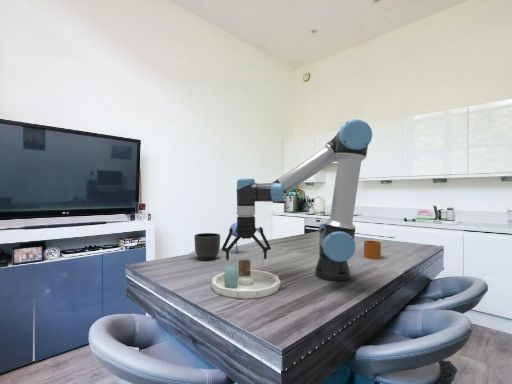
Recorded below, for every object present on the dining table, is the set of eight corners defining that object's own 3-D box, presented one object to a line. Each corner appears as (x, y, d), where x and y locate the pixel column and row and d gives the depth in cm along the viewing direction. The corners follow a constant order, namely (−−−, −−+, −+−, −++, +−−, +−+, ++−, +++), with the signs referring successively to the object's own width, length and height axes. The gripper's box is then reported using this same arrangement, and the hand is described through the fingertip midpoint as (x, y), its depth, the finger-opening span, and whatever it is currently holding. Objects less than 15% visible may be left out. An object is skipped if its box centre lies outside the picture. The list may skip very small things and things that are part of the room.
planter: (207, 254, 160) (207, 232, 160) (225, 258, 152) (225, 234, 152) (188, 259, 149) (189, 235, 149) (206, 263, 140) (207, 237, 140)
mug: (387, 257, 157) (387, 241, 157) (374, 260, 150) (375, 244, 150) (372, 254, 165) (373, 239, 164) (360, 256, 158) (360, 241, 158)
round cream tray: (288, 281, 113) (288, 273, 113) (262, 303, 90) (262, 294, 90) (233, 272, 125) (233, 265, 125) (198, 290, 101) (198, 282, 101)
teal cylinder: (221, 285, 104) (222, 267, 104) (233, 283, 107) (233, 265, 107) (228, 289, 100) (228, 270, 100) (240, 286, 103) (240, 268, 103)
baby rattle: (241, 254, 160) (241, 223, 160) (227, 253, 162) (227, 223, 162) (245, 251, 169) (245, 222, 169) (231, 250, 170) (231, 221, 170)
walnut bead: (250, 275, 116) (250, 259, 116) (250, 279, 111) (250, 262, 111) (238, 276, 116) (238, 259, 116) (238, 280, 111) (238, 262, 111)
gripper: (274, 214, 118) (274, 264, 118) (216, 215, 116) (216, 265, 116) (277, 216, 111) (277, 268, 111) (215, 217, 109) (215, 270, 109)
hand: (246, 267), depth 114 cm, fingers open, 13 cm apart
